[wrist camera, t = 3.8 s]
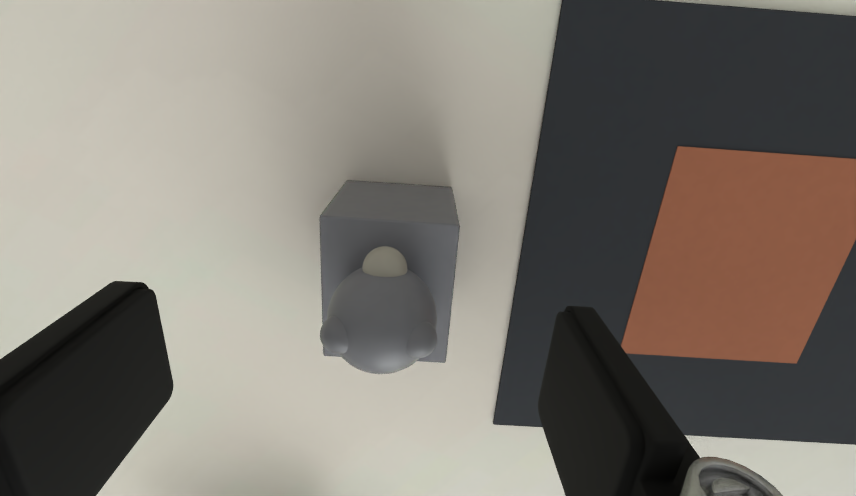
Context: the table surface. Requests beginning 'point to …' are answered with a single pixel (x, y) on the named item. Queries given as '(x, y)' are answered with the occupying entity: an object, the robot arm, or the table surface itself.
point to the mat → (699, 214)
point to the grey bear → (388, 274)
